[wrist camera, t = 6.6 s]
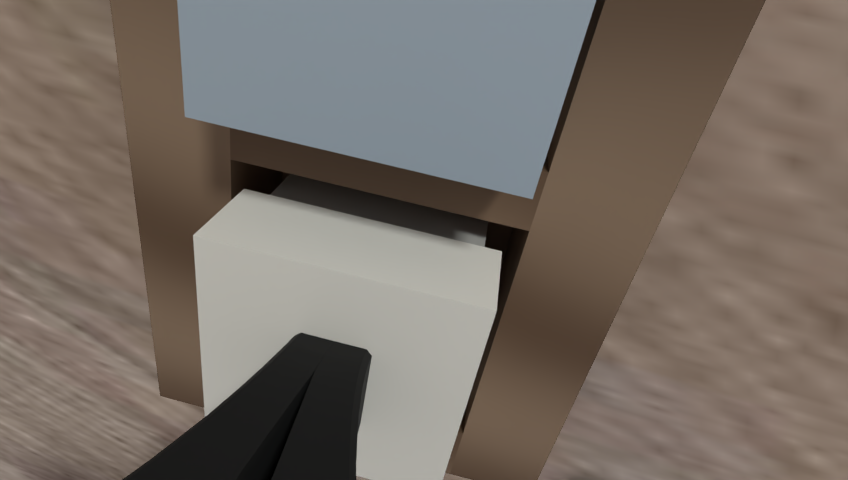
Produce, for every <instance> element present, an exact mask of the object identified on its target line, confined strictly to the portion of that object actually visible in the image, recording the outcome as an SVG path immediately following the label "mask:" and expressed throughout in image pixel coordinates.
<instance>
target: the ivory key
mask: <svg viewBox="0 0 848 480" xmlns="http://www.w3.org/2000/svg"><path fill="white" fill-rule="evenodd" d="M487 227H488V221H485V220H481V219H477V218H472V217H468V216H464V215H460V214H456V213H452V212H447V211H443V210H439V209H435V208H431V207H427V206H422V205H418V204H414V203H410V202H406V201H402V200H398V199H393V198H389V197H385V196H381V195H377V194H373V193H368V192H364V191H360V190H356V189H352V188H348V187H343V186H339V185H335V184H331V183H327V182H323V181H318V180H314V179H310V178H306V177H302V176H298V175H294V174H290V175H289V176H288V177H287V178H286V179H285V180H284V181H283V182H282V183H281V184H280V185H279V186H278V187H277V188H276V189H275V190H274V191H273V192H272V193H271V194H270V195H268V194H264V193H260V192H256V191H252V190H248V189H243V190H242V191H241V192H240V193H239V194H238V195H237V196H236V197H234V198H233V199H232V200H231V201H230V202H229V203H228V204H227V205H226V206H225V207H223V208H222V209H221V210H220V211H219V212H218V213H217V214H216V215H215V216H214V217H213V218H211V219H210V220H209V221H208V222H207V223H206V224H205V225H204V226H203V227H202V228H200V229H199V230H198V231H197V232H196V233H195V234H194V235H193V243H194V258H195V274H196V289H197V304H198V320H199V335H200V350H201V366H202V381H203V396H204V412H205V417H206V416H207V415H208V414H209V413H210V412H212V411H213V410H214V409H215V408H216V407H217V406H219V405H220V404H221V403H222V402H223V401H224V400H226V399H227V398H228V397H229V396H230V395H232V394H233V393H234V392H235V391H236V390H237V389H239V388H240V387H241V386H242V385H243V384H244V383H245V382H246V381H248V380H249V379H250V378H251V377H252V376H253V375H254V374H255V373H256V372H257V371H259V370H260V369H261V368H262V367H263V366H264V365H265V364H266V363H267V362H268V361H269V360H270V359H271V358H272V357H273V356H275V355H276V354H277V353H278V352H279V351H280V350H281V349H282V348H283V347H284V346H285V345H286V344H287V343H288V342H289V341H290V340H291V339H292V338H293V337H294V336H295V335H297V334H299V333H305V334H309V335H313V336H317V337H320V338H324V339H328V340H332V341H336V342H340V343H344V344H348V345H352V346H356V347H360V348H363V349H367V350H368V352H369V353H370V354H371V355H372V358H371V364H370V370H369V376H368V382H367V388H366V394H365V400H364V406H363V411H362V417H361V423H360V427H359V431H358V434H357V458H356V476H360V477H364V478H367V479H371V480H443V477H444V474H445V471H446V468H447V465H448V462H449V459H450V455H451V452H452V449H453V446H454V443H455V440H456V437H457V434H458V430H459V427H460V424H461V421H462V418H463V415H464V412H465V409H466V405H467V402H468V399H469V396H470V393H471V390H472V387H473V384H474V380H475V377H476V374H477V371H478V368H479V365H480V362H481V359H482V355H483V352H484V349H485V346H486V343H487V340H488V337H489V334H490V331H491V327H492V324H493V321H494V318H495V315H496V312H497V302H498V291H499V280H500V269H501V258H502V251H499V250H495V249H490V248H486V247H485V240H486V233H487Z"/></svg>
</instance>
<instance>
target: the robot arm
mask: <svg viewBox="0 0 848 480" xmlns="http://www.w3.org/2000/svg"><path fill="white" fill-rule="evenodd" d="M371 358H372V355H371V354H370V353H369V352H368V350H367V349H363V348H360V347H356V346H352V345H348V344H344V343H340V342H336V341H332V340H328V339H324V338H320V337H317V336H313V335H309V334H305V333H299V334H297V335H295V336H294V337H293V338H292V339H291V340H290V341H289V342H288V343H287V344H286V345H285V346H284V347H283V348H282V349H281V350H280V351H279V352H278V353H277V354H276V355H275V356H273V357H272V358H271V359H270V360H269V361H268V362H267V363H266V364H265V365H264V366H263V367H262V368H261V369H260V370H259V371H257V372H256V373H255V374H254V375H253V376H252V377H251V378H250V379H249V380H248V381H246V382H245V383H244V384H243V385H242V386H241V387H240V388H239V389H237V390H236V391H235V392H234V393H233V394H232V395H230V396H229V397H228V398H227V399H226V400H224V401H223V402H222V403H221V404H220V405H219V406H217V407H216V408H215V409H214V410H213V411H212V412H210V413H209V414H208V415H207V416H206V417H204V418H203V419H202V420H201V421H200V422H198V423H197V424H196V425H194V426H193V427H192V428H191V429H189V430H188V431H187V432H185V433H184V434H183V435H182V436H180V437H179V438H178V439H176V440H175V441H174V442H173V443H171V444H170V445H169V446H167V447H166V448H165V449H164V450H162V451H161V452H160V453H158V454H157V455H156V456H154V457H153V458H152V459H150V460H149V461H148V462H146V463H145V464H144V465H142V466H141V467H139V468H138V469H137V470H135V471H134V472H133V473H131V474H130V475H128V476H127V477H125V478H124V479H123V480H356V458H357V434H358V431H359V427H360V423H361V417H362V411H363V406H364V400H365V394H366V388H367V382H368V376H369V370H370V364H371Z"/></svg>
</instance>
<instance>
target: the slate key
mask: <svg viewBox="0 0 848 480" xmlns="http://www.w3.org/2000/svg"><path fill="white" fill-rule="evenodd" d="M595 3H596V0H177V5H178V20H179V35H180V50H181V66H182V81H183V96H184V111H185V117H187V118H192V119H196V120H200V121H204V122H208V123H213V124H217V125H221V126H225V127H230V128H234V129H238V130H242V131H246V132H251V133H255V134H259V135H263V136H268V137H272V138H276V139H280V140H284V141H289V142H293V143H297V144H301V145H306V146H310V147H314V148H318V149H322V150H327V151H331V152H335V153H339V154H344V155H348V156H352V157H356V158H360V159H365V160H369V161H373V162H377V163H382V164H386V165H390V166H394V167H398V168H403V169H407V170H411V171H415V172H420V173H424V174H428V175H432V176H436V177H441V178H445V179H449V180H453V181H458V182H462V183H466V184H470V185H474V186H479V187H483V188H487V189H491V190H496V191H500V192H504V193H508V194H512V195H517V196H521V197H525V198H529V199H533V196H534V193H535V190H536V187H537V184H538V181H539V178H540V175H541V172H542V168H543V165H544V162H545V159H546V156H547V153H548V150H549V147H550V143H551V140H552V137H553V134H554V131H555V128H556V125H557V122H558V118H559V115H560V112H561V109H562V106H563V103H564V100H565V97H566V93H567V90H568V87H569V84H570V81H571V78H572V75H573V72H574V68H575V65H576V62H577V59H578V56H579V53H580V50H581V47H582V43H583V40H584V37H585V34H586V31H587V28H588V25H589V22H590V18H591V15H592V12H593V9H594V6H595Z"/></svg>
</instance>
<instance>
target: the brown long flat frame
mask: <svg viewBox="0 0 848 480" xmlns="http://www.w3.org/2000/svg"><path fill="white" fill-rule="evenodd" d="M765 1H766V0H596V3H595V6H594V9H593V12H592V15H591V18H590V22H589V25H588V28H587V31H586V34H585V37H584V40H583V43H582V47H581V50H580V53H579V56H578V59H577V62H576V65H575V68H574V72H573V75H572V78H571V81H570V84H569V87H568V90H567V93H566V97H565V100H564V103H563V106H562V109H561V112H560V115H559V118H558V122H557V125H556V128H555V131H554V134H553V137H552V140H551V143H550V147H549V150H548V153H547V156H546V159H545V162H544V165H543V168H542V172H541V175H540V178H539V181H538V184H537V187H536V190H535V193H534V196H533V199H529V198H525V197H521V196H517V195H512V194H508V193H504V192H500V191H496V190H491V189H487V188H483V187H479V186H474V185H470V184H466V183H462V182H458V181H453V180H449V179H445V178H441V177H436V176H432V175H428V174H424V173H420V172H415V171H411V170H407V169H403V168H398V167H394V166H390V165H386V164H382V163H377V162H373V161H369V160H365V159H360V158H356V157H352V156H348V155H344V154H339V153H335V152H331V151H327V150H322V149H318V148H314V147H310V146H306V145H301V144H297V143H293V142H289V141H284V140H280V139H276V138H272V137H268V136H263V135H259V134H255V133H251V132H246V131H242V130H238V129H234V128H230V127H225V126H221V125H217V124H213V123H208V122H204V121H200V120H196V119H192V118H187V117H185V111H184V96H183V81H182V66H181V50H180V35H179V20H178V5H177V0H110V6H111V14H112V22H113V29H114V37H115V45H116V53H117V61H118V69H119V76H120V84H121V92H122V100H123V108H124V115H125V123H126V131H127V139H128V147H129V155H130V162H131V170H132V178H133V186H134V194H135V202H136V209H137V217H138V225H139V233H140V241H141V249H142V256H143V264H144V272H145V280H146V288H147V296H148V303H149V311H150V319H151V327H152V335H153V342H154V350H155V358H156V366H157V374H158V382H159V389H160V396H163V397H167V398H170V399H174V400H178V401H182V402H185V403H189V404H193V405H196V406H200V407H204V396H203V381H202V366H201V350H200V335H199V320H198V304H197V289H196V274H195V258H194V243H193V235H194V234H195V233H196V232H197V231H198V230H199V229H200V228H202V227H203V226H204V225H205V224H206V223H207V222H208V221H209V220H210V219H211V218H213V217H214V216H215V215H216V214H217V213H218V212H219V211H220V210H221V209H222V208H223V207H225V206H226V205H227V204H228V203H229V202H230V201H231V200H232V199H233V198H234V197H236V196H237V195H238V194H239V193H240V192H241V191H242V190H243V189H248V190H252V191H256V192H260V193H264V194H268V195H270V194H271V193H272V192H273V191H274V190H275V189H276V188H277V187H278V186H279V185H280V184H281V183H282V182H283V181H284V180H285V179H286V178H287V177H288V176H289V175H290V174H294V175H298V176H302V177H306V178H310V179H314V180H318V181H323V182H327V183H331V184H335V185H339V186H343V187H348V188H352V189H356V190H360V191H364V192H368V193H373V194H377V195H381V196H385V197H389V198H393V199H398V200H402V201H406V202H410V203H414V204H418V205H422V206H427V207H431V208H435V209H439V210H443V211H447V212H452V213H456V214H460V215H464V216H468V217H472V218H477V219H481V220H485V221H488V227H487V233H486V240H485V247H486V248H490V249H495V250H499V251H502V258H501V269H500V280H499V291H498V302H497V312H496V315H495V318H494V321H493V324H492V327H491V331H490V334H489V337H488V340H487V343H486V346H485V349H484V352H483V355H482V359H481V362H480V365H479V368H478V371H477V374H476V377H475V380H474V384H473V387H472V390H471V393H470V396H469V399H468V402H467V405H466V409H465V412H464V415H463V418H462V421H461V424H460V427H459V430H458V434H457V437H456V440H455V443H454V446H453V449H452V452H451V455H450V459H449V462H448V465H447V468H446V471H445V472H446V473H449V474H453V475H457V476H461V477H464V478H468V479H472V480H537V479H538V477H539V475H540V473H541V471H542V469H543V467H544V465H545V463H546V461H547V458H548V456H549V454H550V452H551V450H552V448H553V446H554V444H555V442H556V440H557V437H558V435H559V433H560V431H561V429H562V427H563V425H564V423H565V421H566V419H567V416H568V414H569V412H570V410H571V408H572V406H573V404H574V402H575V400H576V398H577V395H578V393H579V391H580V389H581V387H582V385H583V383H584V381H585V379H586V377H587V374H588V372H589V370H590V368H591V366H592V364H593V362H594V360H595V358H596V356H597V353H598V351H599V349H600V347H601V345H602V343H603V341H604V339H605V337H606V335H607V332H608V330H609V328H610V326H611V324H612V322H613V320H614V318H615V316H616V314H617V311H618V309H619V307H620V305H621V303H622V301H623V299H624V297H625V295H626V293H627V290H628V288H629V286H630V284H631V282H632V280H633V278H634V276H635V274H636V272H637V269H638V267H639V265H640V263H641V261H642V259H643V257H644V255H645V253H646V251H647V248H648V246H649V244H650V242H651V240H652V238H653V236H654V234H655V232H656V230H657V227H658V225H659V223H660V221H661V219H662V217H663V215H664V213H665V211H666V209H667V206H668V204H669V202H670V200H671V198H672V196H673V194H674V192H675V190H676V188H677V185H678V183H679V181H680V179H681V177H682V175H683V173H684V171H685V169H686V167H687V164H688V162H689V160H690V158H691V156H692V154H693V152H694V150H695V148H696V146H697V143H698V141H699V139H700V137H701V135H702V133H703V131H704V129H705V127H706V124H707V122H708V120H709V118H710V116H711V114H712V112H713V110H714V108H715V106H716V103H717V101H718V99H719V97H720V95H721V93H722V91H723V89H724V87H725V85H726V82H727V80H728V78H729V76H730V74H731V72H732V70H733V68H734V66H735V64H736V61H737V59H738V57H739V55H740V53H741V51H742V49H743V47H744V45H745V43H746V40H747V38H748V36H749V34H750V32H751V30H752V28H753V26H754V24H755V22H756V19H757V17H758V15H759V13H760V11H761V9H762V7H763V5H764V3H765Z"/></svg>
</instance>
